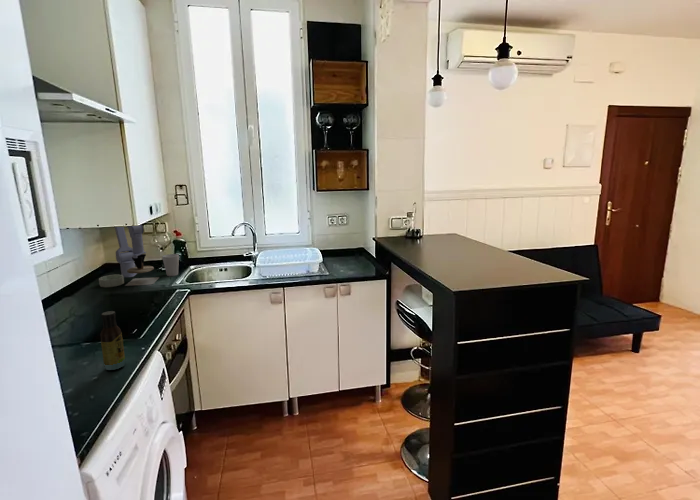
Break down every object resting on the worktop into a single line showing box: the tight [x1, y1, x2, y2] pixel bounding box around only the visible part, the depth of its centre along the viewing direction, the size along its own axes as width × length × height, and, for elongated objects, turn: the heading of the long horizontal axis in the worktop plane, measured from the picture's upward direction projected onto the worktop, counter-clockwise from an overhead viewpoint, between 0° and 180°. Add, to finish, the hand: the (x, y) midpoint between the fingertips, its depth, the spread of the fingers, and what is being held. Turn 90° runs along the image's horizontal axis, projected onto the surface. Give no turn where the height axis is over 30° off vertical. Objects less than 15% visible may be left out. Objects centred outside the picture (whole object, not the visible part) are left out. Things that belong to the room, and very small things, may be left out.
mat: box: [124, 276, 160, 287], centre depth 230 cm, size 15×15×1 cm
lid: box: [127, 263, 155, 274], centre depth 228 cm, size 14×14×4 cm
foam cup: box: [161, 253, 180, 277], centre depth 243 cm, size 10×9×13 cm
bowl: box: [98, 274, 125, 288], centre depth 225 cm, size 12×12×4 cm
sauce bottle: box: [99, 310, 126, 365], centre depth 130 cm, size 6×6×20 cm
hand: (140, 267), depth 228 cm, fingers closed on lid, 3 cm apart
